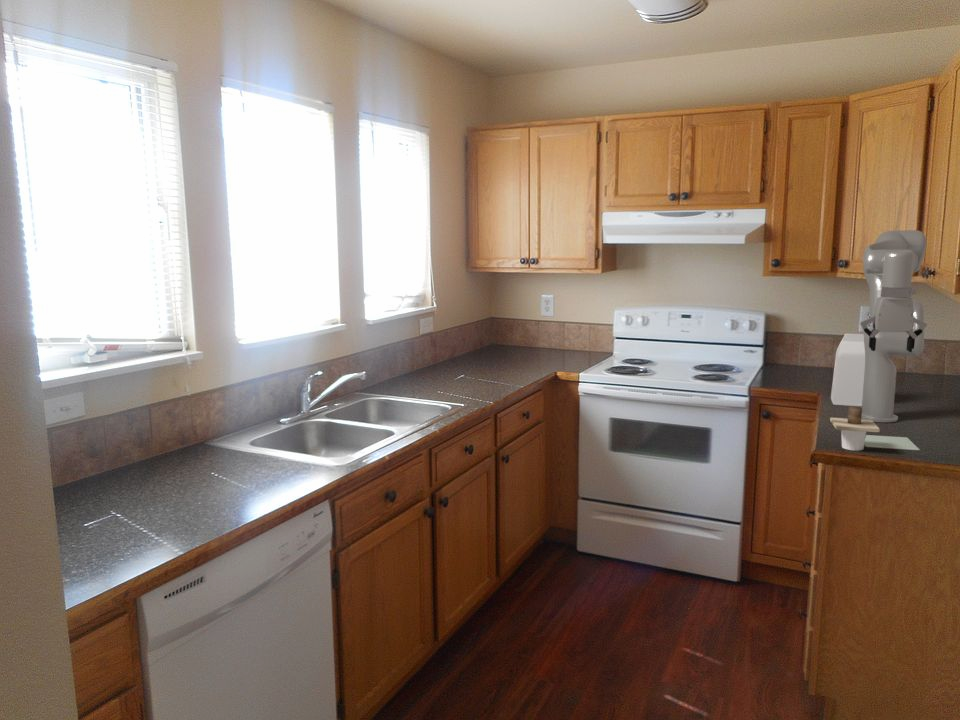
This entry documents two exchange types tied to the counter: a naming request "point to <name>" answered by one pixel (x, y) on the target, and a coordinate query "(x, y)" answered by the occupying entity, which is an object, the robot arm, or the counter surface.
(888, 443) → the mat
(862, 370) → the milk
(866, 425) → the lid
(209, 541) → the counter surface
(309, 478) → the counter surface
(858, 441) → the white cup
